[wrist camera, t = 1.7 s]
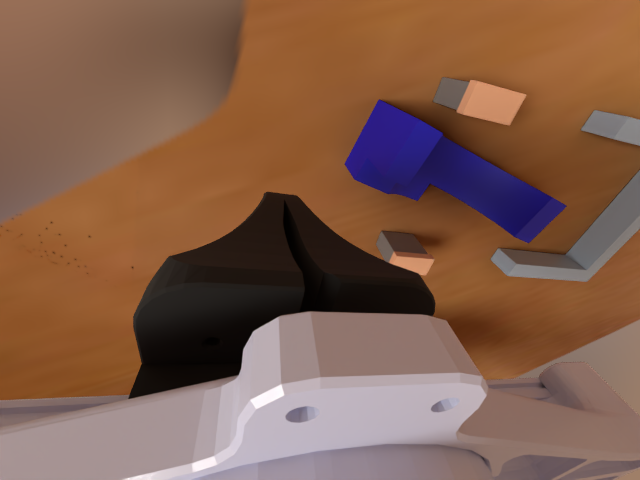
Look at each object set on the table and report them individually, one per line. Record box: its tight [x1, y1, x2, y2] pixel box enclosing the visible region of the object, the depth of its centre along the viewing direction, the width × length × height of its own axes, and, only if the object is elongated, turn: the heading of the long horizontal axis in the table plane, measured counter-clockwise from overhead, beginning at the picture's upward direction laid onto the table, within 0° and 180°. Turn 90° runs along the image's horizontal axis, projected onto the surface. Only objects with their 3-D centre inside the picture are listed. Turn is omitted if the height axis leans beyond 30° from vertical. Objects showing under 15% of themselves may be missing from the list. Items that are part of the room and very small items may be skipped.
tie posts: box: [376, 77, 526, 275], centre depth 19 cm, size 13×3×4 cm, turn 168°
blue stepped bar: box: [345, 100, 566, 243], centre depth 18 cm, size 12×4×6 cm, turn 64°
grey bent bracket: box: [490, 110, 640, 282], centre depth 24 cm, size 14×10×2 cm
